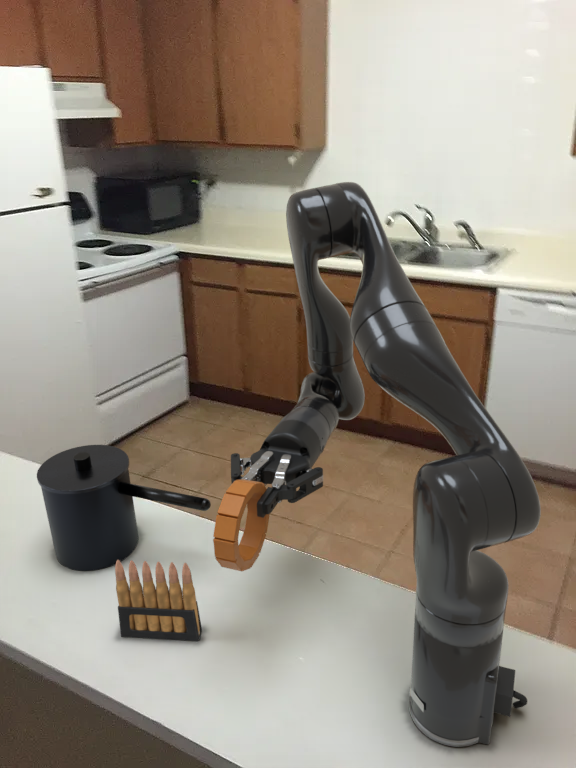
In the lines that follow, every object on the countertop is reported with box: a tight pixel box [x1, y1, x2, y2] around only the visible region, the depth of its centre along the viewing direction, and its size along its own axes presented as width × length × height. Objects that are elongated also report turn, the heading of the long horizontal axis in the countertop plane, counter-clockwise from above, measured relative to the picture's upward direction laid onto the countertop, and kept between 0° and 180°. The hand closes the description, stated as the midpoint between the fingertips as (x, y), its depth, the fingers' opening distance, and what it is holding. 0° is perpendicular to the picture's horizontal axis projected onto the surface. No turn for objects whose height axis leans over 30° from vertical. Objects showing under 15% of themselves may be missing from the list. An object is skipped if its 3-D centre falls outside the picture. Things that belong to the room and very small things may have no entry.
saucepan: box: [36, 444, 212, 572], centre depth 102 cm, size 28×14×16 cm, turn 69°
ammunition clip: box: [114, 559, 203, 642], centre depth 87 cm, size 11×2×12 cm, turn 84°
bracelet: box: [212, 479, 271, 572], centre depth 80 cm, size 3×10×10 cm, turn 159°
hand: (247, 508), depth 81 cm, fingers closed on bracelet, 2 cm apart
